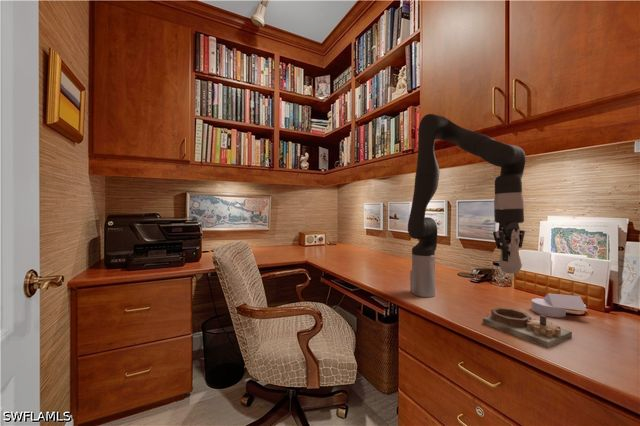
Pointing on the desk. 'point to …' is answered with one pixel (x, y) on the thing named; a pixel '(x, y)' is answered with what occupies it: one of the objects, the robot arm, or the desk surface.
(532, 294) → the desk surface
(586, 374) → the desk surface
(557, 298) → the wedge on round base
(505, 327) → the peg board
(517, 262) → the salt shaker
